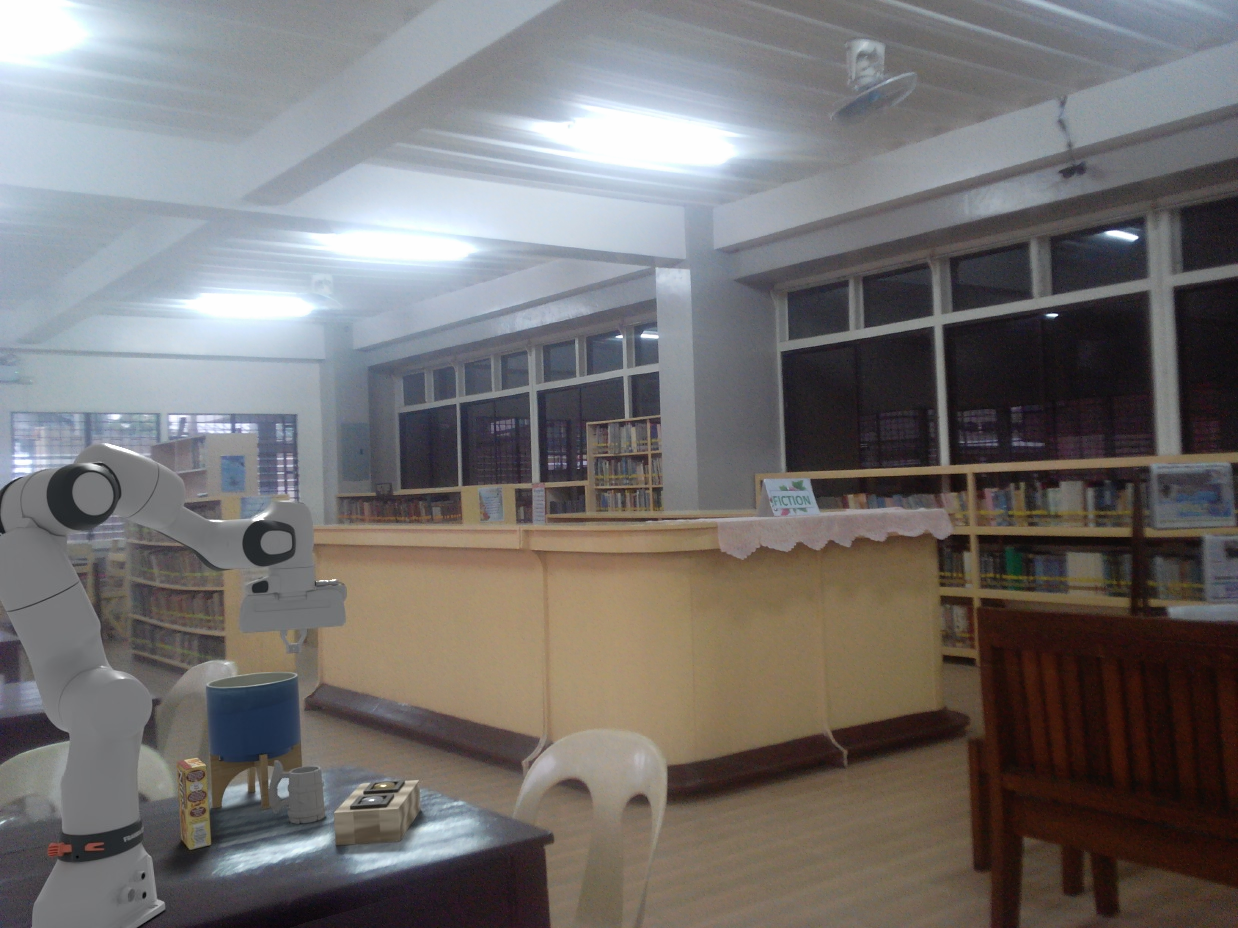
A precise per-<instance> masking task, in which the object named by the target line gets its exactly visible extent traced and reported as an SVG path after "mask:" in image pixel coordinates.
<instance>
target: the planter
mask: <svg viewBox="0 0 1238 928" xmlns="http://www.w3.org/2000/svg"><path fill="white" fill-rule="evenodd" d="M205 694H206V695H205V696H206V714H207V715H206V717H207V736H208V753H209V754H208V756H209V758H208V759H209V777H210V780H209V781H210V798H211V799H210V800H211V808H212V809H218V808H222V807H223V797H224V795H225V792H226V789H227V787H228V786H229V785H230V783H231V782H232V780H233V779H234V778H236V777H237V776H238V775H239V774H241V773H242V772H244V771H246V779H247V791H248V793H252V792H253V793H255V792H256V777H257V780H258V786H259V790H260V791H259V792H260V802H261V803H260V804H261V809H262V810H263V811H264V810H269V809H271V807H270V804H269V795H268V790H269V785H270V782H269V769H268V768H269V767H273V768H274V761H275V760H278V761H280V763H281V764H282V766H283V771H284V772H289V771H290V770H292V769H295V768H298V767H303V755H302V730H301V729H302V728H301V713H300V712H301V710H300V694H299V675H298V673H296V672H291V671H271V672H270V671H269V672H267V671H266V672H254V673H247V674H240V675H233V676H228V677H227V676H226V677H223V678H218V679H214V680H212V681H209V682H207V683H206V684H205Z"/></svg>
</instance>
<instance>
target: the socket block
mask: <svg viewBox="0 0 1238 928" xmlns="http://www.w3.org/2000/svg"><path fill="white" fill-rule="evenodd" d="M385 782H392V783H394V784H395V787H394V788H387V789H374V786H375V785H376V784H379V783H385ZM420 790H421V789H420V780H419V779H417V780H416V779H414V780H406V779H400V780H384V781H383V780H382V781H371V782H365V783H360V784H359V785H358V786H357V787H356V788H355V789H354V790H353V792H351V793H350V794H349V796H348V797H346V799H345V800H344V801H343V803H341V804H340V805H339V807H338V808H337V809H336V810H335V811H334V812H333V820H334V821H333V822H334V837H335V839H334V840H335V846H346V845H360V844H361V845H364V844H374V843H375V844H376V843H377V844H378V843H393V842H401V840H402V839H403V838H404V836H405V834H406V833H407V832H408V830H409V828H410V827H411V826H412V824H413V822H414V820H415V819H416V818H417V816H418V815H419V813H420V812H421V810H422V807H421V803H422V802H421V791H420ZM373 796H380V797H383V802H382V803H368V804H362V799H364V798H367V797H373Z"/></svg>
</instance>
